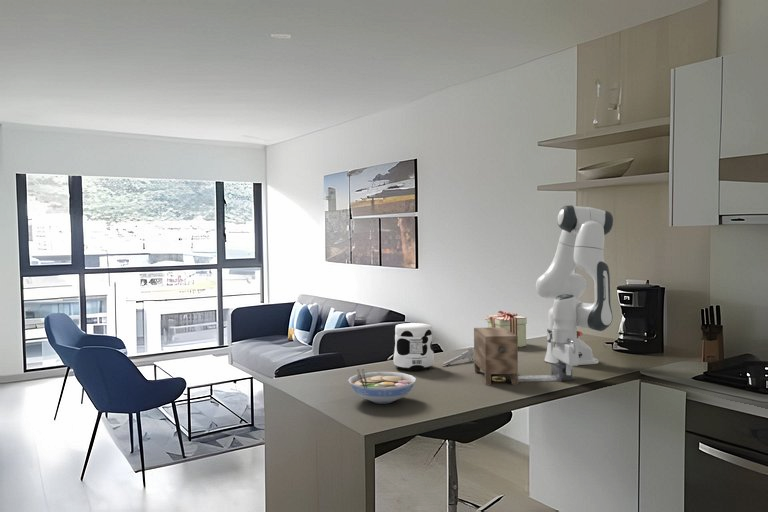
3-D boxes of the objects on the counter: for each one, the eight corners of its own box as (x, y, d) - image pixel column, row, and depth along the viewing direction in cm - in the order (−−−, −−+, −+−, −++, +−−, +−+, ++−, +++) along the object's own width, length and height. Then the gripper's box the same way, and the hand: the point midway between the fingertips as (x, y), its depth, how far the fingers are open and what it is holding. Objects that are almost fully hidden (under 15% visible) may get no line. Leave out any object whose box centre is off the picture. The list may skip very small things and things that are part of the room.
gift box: (480, 344, 300) (480, 311, 300) (511, 342, 307) (511, 309, 306) (498, 350, 284) (497, 315, 284) (530, 347, 291) (530, 313, 290)
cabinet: (503, 371, 238) (503, 327, 237) (518, 385, 215) (518, 336, 214) (474, 371, 237) (473, 327, 237) (486, 385, 214) (486, 337, 214)
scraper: (566, 376, 228) (566, 360, 228) (574, 381, 219) (574, 365, 219) (511, 377, 227) (511, 361, 227) (517, 382, 218) (517, 366, 218)
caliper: (471, 360, 261) (471, 346, 261) (473, 360, 260) (473, 346, 260) (440, 367, 248) (440, 352, 248) (442, 367, 247) (442, 352, 247)
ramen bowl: (421, 410, 183) (421, 384, 183) (349, 413, 182) (348, 387, 181) (411, 390, 208) (411, 367, 208) (347, 392, 207) (347, 369, 206)
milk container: (412, 362, 258) (412, 321, 257) (442, 367, 245) (442, 325, 245) (384, 368, 246) (384, 325, 245) (414, 374, 233) (414, 330, 233)
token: (503, 379, 225) (503, 376, 225) (506, 382, 220) (506, 379, 220) (490, 379, 225) (490, 376, 225) (493, 382, 220) (493, 379, 220)
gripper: (583, 341, 213) (583, 378, 213) (563, 332, 233) (563, 367, 234) (566, 341, 213) (566, 379, 213) (548, 333, 233) (548, 367, 233)
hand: (564, 372), depth 224 cm, fingers open, 6 cm apart
